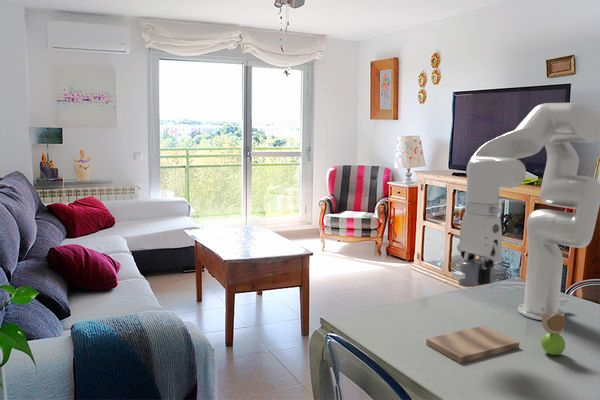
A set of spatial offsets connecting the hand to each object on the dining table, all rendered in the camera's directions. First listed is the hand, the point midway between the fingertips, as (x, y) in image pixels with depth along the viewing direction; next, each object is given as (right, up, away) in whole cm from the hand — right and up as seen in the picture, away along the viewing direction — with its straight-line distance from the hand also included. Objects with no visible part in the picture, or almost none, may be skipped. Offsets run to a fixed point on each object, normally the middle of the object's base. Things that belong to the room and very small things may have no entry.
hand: (476, 280), depth 131 cm
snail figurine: (+18, -18, -2) cm, 25 cm away
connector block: (0, -1, 0) cm, 1 cm away
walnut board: (0, -17, +3) cm, 17 cm away
